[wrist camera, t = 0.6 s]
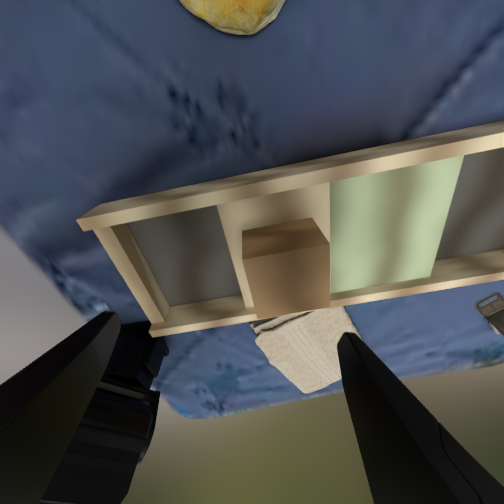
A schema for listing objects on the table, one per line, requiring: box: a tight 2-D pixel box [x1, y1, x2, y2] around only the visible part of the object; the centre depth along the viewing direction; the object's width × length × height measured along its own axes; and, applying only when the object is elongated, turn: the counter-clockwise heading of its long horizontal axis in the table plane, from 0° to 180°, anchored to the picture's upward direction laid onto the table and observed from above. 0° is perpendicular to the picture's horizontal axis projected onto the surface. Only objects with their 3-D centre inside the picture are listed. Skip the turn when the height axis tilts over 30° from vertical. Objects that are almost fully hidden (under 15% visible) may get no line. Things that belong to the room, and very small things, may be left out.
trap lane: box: [76, 120, 504, 337], centre depth 21 cm, size 40×14×4 cm, turn 101°
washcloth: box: [250, 306, 363, 393], centre depth 31 cm, size 12×18×3 cm, turn 33°
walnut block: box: [242, 217, 331, 319], centre depth 19 cm, size 6×6×4 cm
